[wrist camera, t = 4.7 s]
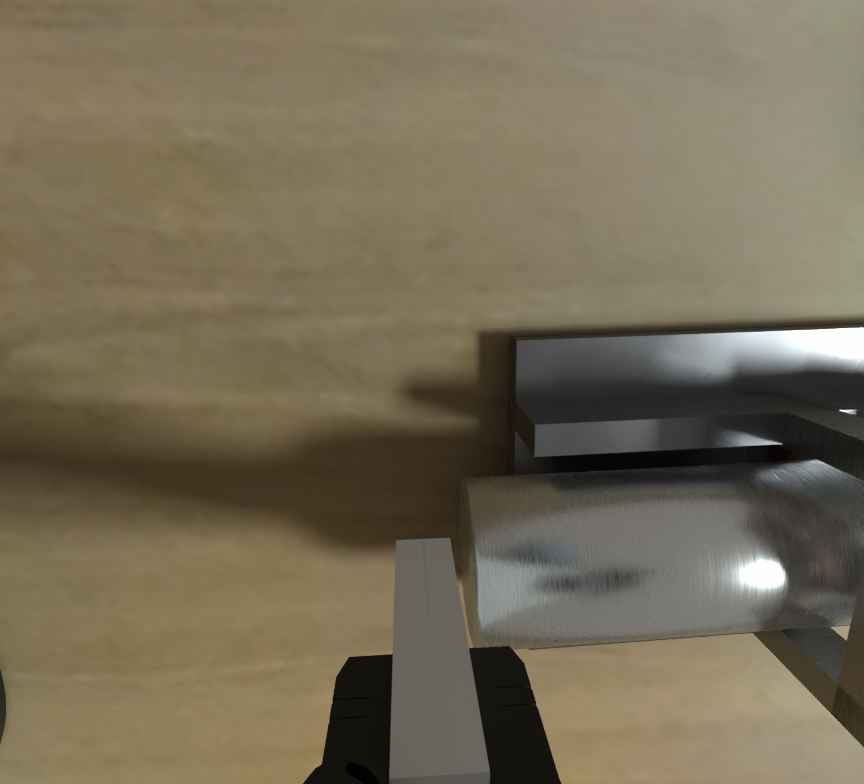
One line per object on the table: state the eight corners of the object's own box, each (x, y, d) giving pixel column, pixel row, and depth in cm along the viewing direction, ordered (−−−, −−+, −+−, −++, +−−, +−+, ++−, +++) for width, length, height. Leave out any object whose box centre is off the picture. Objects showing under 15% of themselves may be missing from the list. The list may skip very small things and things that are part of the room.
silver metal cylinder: (458, 567, 18) (479, 694, 14) (458, 448, 16) (484, 550, 12) (814, 544, 19) (948, 657, 15) (854, 428, 17) (1024, 516, 13)
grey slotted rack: (506, 630, 20) (578, 868, 12) (509, 336, 17) (609, 397, 9) (962, 596, 21) (1302, 793, 13) (1041, 317, 18) (1540, 355, 10)
